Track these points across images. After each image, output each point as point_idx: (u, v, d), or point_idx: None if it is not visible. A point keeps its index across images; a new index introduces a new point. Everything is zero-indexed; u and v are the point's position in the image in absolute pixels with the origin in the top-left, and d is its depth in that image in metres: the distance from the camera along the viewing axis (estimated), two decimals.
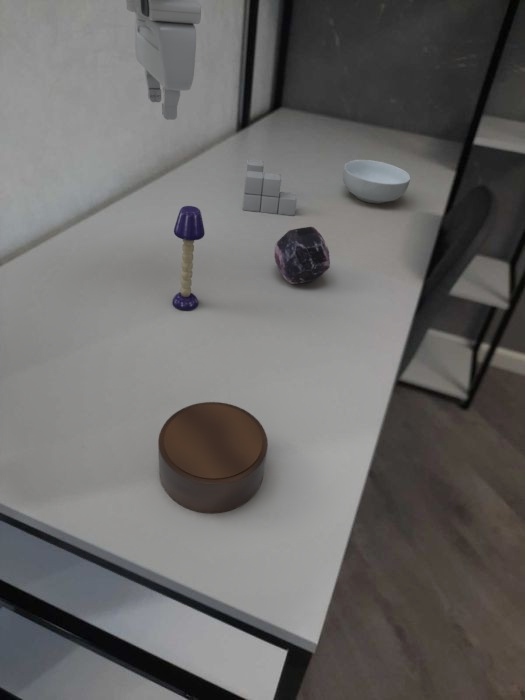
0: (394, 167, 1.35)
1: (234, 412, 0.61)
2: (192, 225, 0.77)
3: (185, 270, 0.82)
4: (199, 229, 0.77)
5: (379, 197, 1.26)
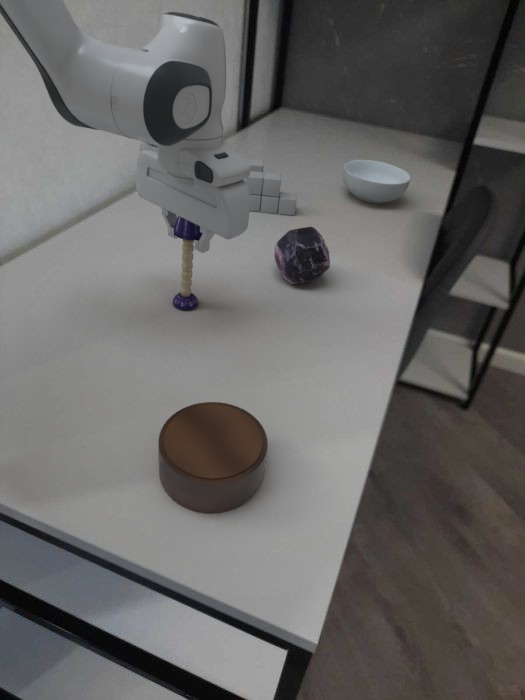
0: (394, 167, 1.35)
1: (234, 412, 0.61)
2: (192, 225, 0.77)
3: (185, 270, 0.82)
4: (198, 229, 0.77)
5: (379, 197, 1.26)
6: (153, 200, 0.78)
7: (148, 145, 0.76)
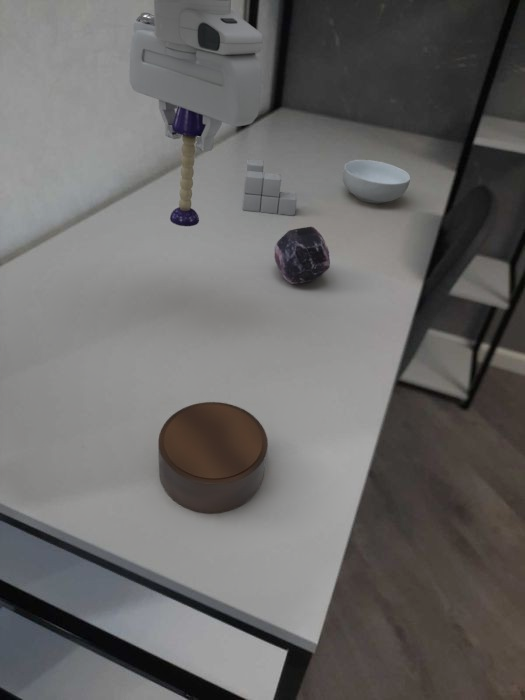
0: (394, 167, 1.35)
1: (234, 412, 0.61)
2: (194, 117, 0.67)
3: (185, 177, 0.72)
4: (201, 123, 0.67)
5: (379, 197, 1.26)
6: (149, 91, 0.68)
7: (143, 24, 0.66)
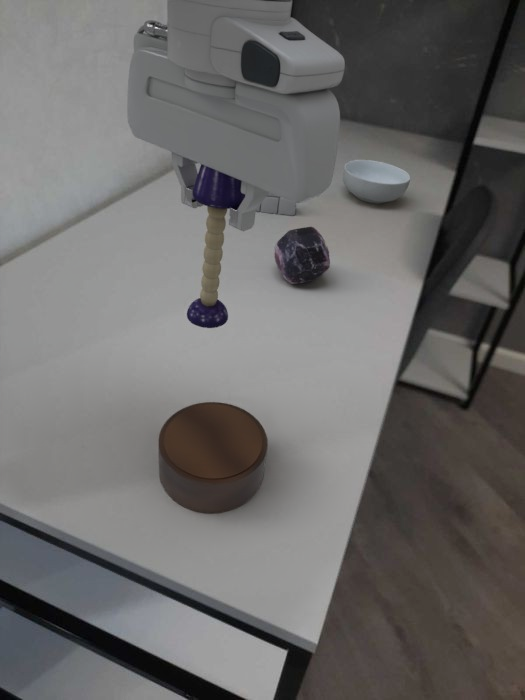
0: (394, 167, 1.35)
1: (234, 412, 0.61)
2: (227, 181, 0.43)
3: (210, 262, 0.49)
4: (237, 189, 0.44)
5: (379, 197, 1.26)
6: (157, 139, 0.45)
7: (149, 38, 0.43)
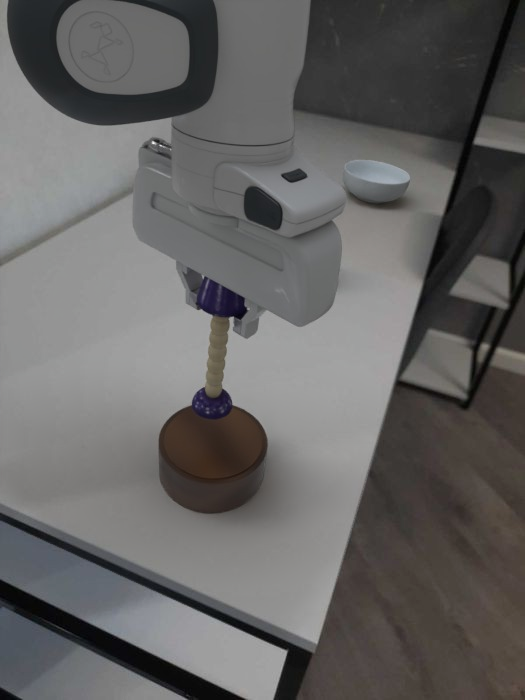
0: (394, 167, 1.35)
1: (234, 412, 0.61)
2: (231, 292, 0.44)
3: (214, 359, 0.50)
4: (241, 298, 0.45)
5: (379, 197, 1.26)
6: (162, 248, 0.46)
7: (153, 153, 0.43)
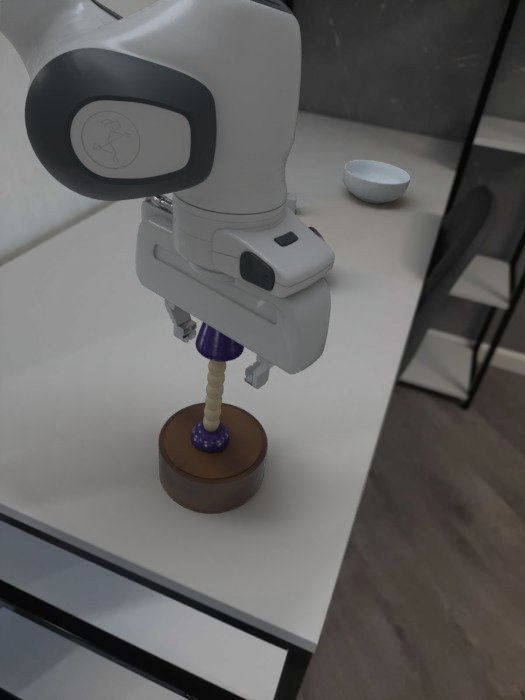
0: (394, 167, 1.35)
1: (234, 412, 0.61)
2: (227, 339, 0.47)
3: (212, 397, 0.53)
4: (236, 344, 0.48)
5: (379, 197, 1.26)
6: (163, 294, 0.48)
7: (155, 208, 0.46)
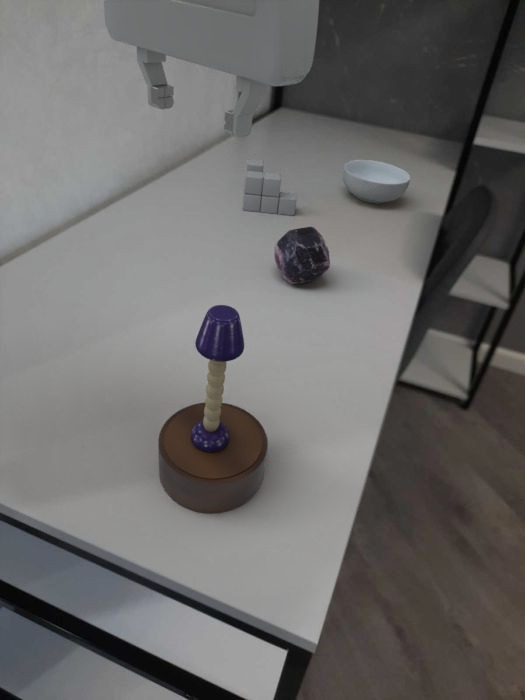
0: (394, 167, 1.35)
1: (234, 412, 0.61)
2: (227, 339, 0.47)
3: (212, 397, 0.53)
4: (236, 344, 0.48)
5: (379, 197, 1.26)
6: (134, 37, 0.43)
7: None
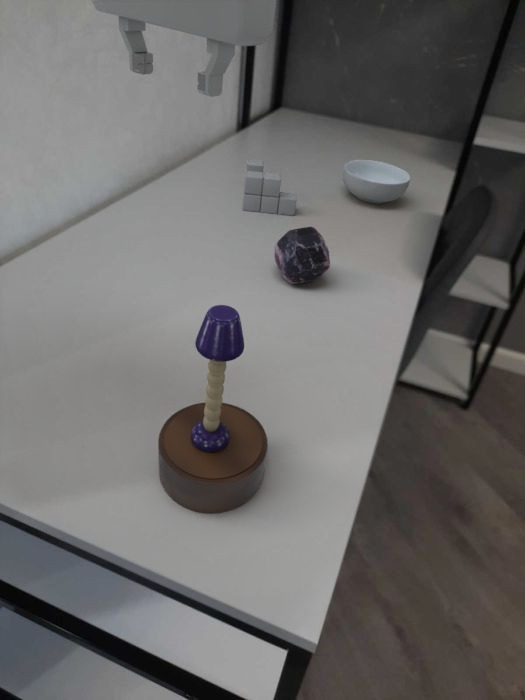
0: (394, 167, 1.35)
1: (234, 412, 0.61)
2: (227, 339, 0.47)
3: (212, 397, 0.53)
4: (236, 344, 0.48)
5: (379, 197, 1.26)
6: (116, 7, 0.48)
7: None
